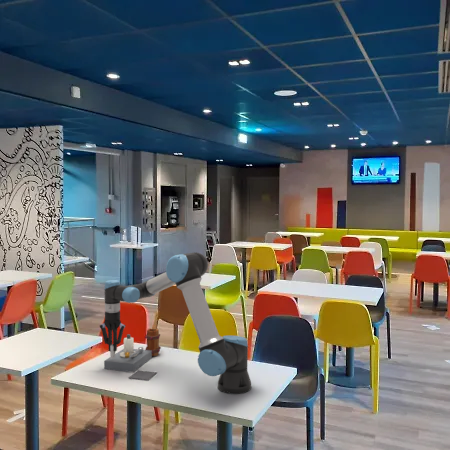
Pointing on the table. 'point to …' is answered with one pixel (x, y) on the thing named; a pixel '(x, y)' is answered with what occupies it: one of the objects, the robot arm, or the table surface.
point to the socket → (128, 361)
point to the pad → (142, 375)
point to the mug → (153, 340)
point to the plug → (128, 346)
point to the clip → (128, 355)
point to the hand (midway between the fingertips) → (112, 357)
